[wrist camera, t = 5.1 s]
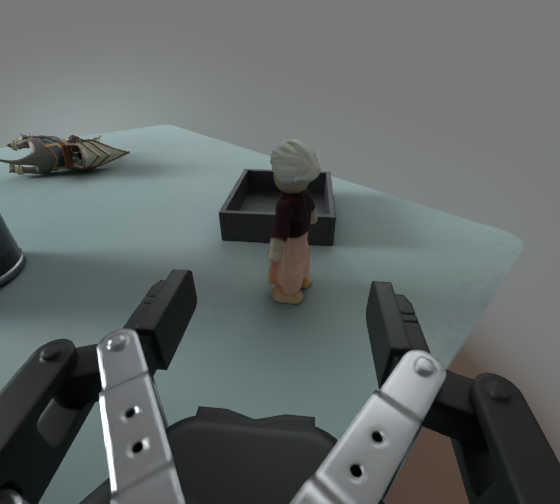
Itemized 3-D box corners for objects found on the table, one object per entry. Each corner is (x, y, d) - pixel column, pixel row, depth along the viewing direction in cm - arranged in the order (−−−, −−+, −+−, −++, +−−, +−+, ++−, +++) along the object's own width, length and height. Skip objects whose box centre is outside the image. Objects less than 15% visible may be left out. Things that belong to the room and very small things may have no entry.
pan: (221, 240, 34) (218, 212, 32) (245, 191, 46) (244, 168, 44) (333, 245, 33) (336, 217, 31) (328, 194, 45) (330, 171, 43)
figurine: (52, 125, 60) (139, 126, 61) (62, 156, 63) (145, 157, 64) (-37, 144, 43) (86, 145, 43) (-16, 186, 46) (98, 187, 46)
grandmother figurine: (280, 263, 30) (279, 127, 23) (318, 269, 29) (330, 130, 22) (254, 318, 24) (244, 155, 17) (302, 327, 23) (312, 160, 16)
